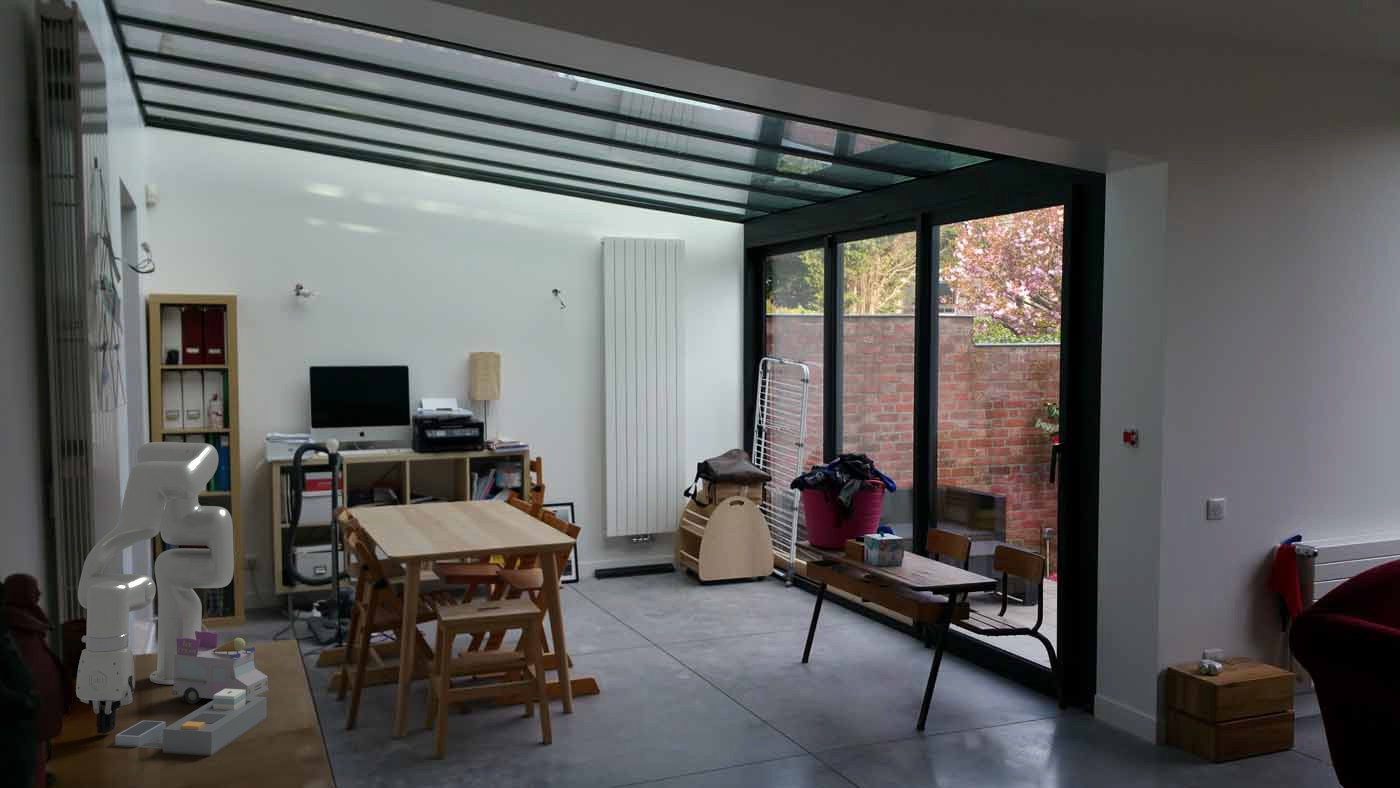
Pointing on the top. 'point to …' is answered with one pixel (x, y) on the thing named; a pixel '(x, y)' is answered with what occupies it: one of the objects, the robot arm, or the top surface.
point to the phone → (140, 733)
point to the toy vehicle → (215, 668)
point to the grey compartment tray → (212, 727)
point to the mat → (150, 743)
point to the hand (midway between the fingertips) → (105, 731)
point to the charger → (229, 699)
